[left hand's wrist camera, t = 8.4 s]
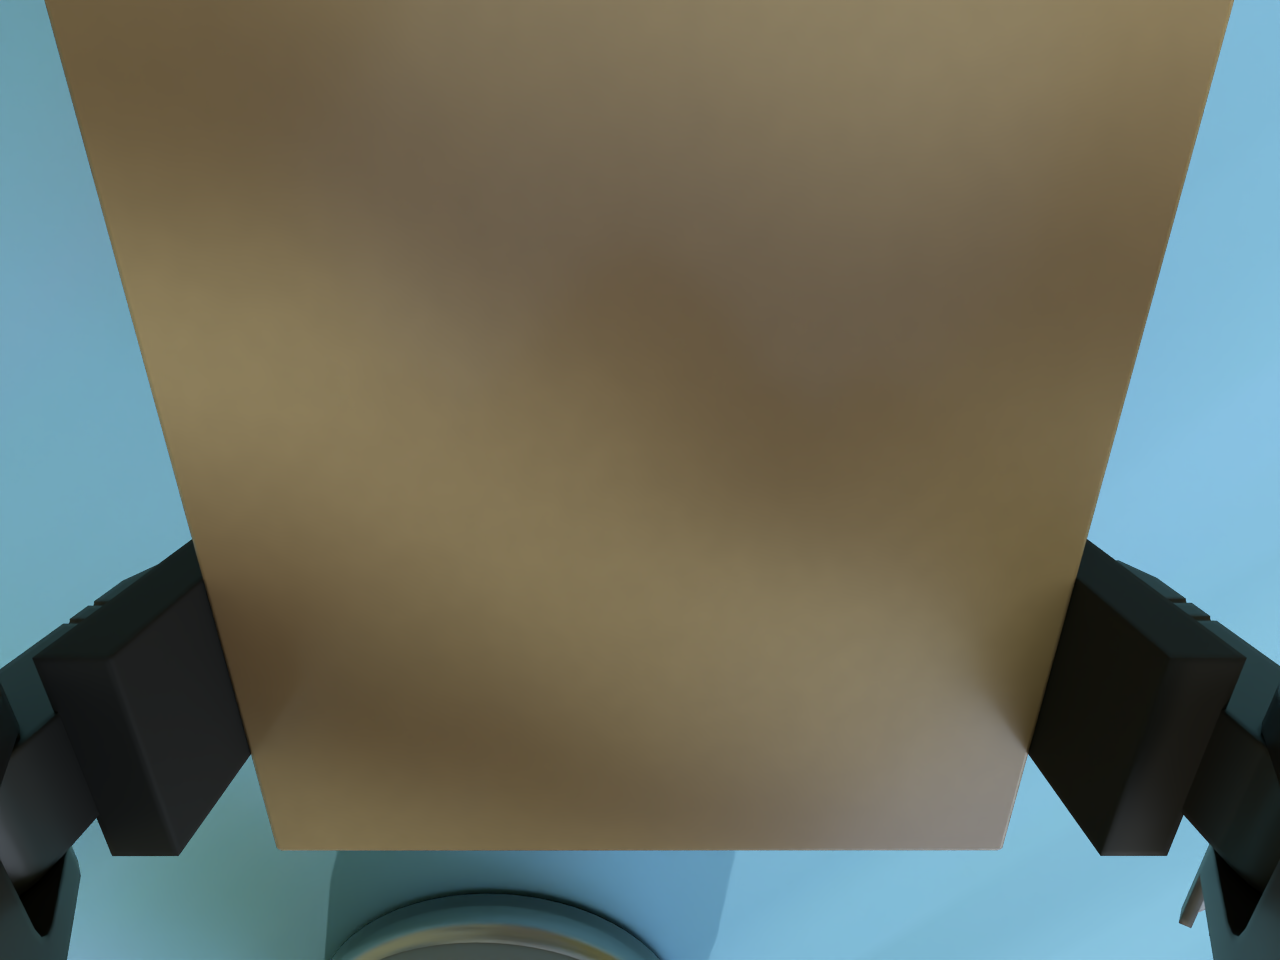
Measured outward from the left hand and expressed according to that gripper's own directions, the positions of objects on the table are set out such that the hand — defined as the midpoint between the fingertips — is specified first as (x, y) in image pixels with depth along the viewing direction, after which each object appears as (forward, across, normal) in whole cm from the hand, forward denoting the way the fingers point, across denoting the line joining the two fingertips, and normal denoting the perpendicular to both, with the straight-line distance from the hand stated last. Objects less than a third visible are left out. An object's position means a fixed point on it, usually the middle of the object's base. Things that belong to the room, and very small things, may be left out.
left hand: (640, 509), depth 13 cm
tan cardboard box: (+6, 0, -6) cm, 8 cm away
